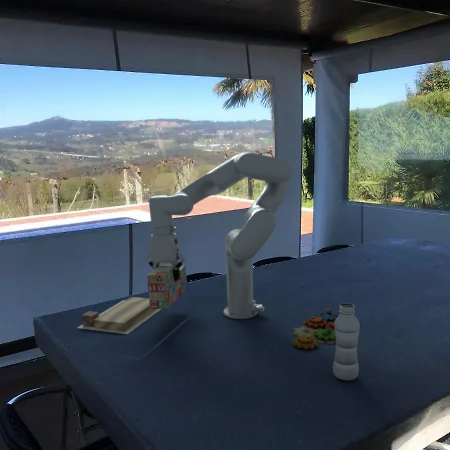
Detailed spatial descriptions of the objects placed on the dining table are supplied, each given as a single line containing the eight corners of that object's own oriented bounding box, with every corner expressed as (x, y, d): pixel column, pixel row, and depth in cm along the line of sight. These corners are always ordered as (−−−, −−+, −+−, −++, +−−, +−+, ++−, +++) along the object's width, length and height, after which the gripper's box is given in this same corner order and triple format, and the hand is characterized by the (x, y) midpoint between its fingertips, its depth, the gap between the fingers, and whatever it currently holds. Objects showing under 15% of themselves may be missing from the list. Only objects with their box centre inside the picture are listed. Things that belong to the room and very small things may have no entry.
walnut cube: (99, 322, 161) (98, 312, 161) (92, 327, 158) (91, 316, 157) (89, 321, 163) (89, 311, 162) (82, 325, 159) (82, 315, 158)
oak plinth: (158, 306, 176) (158, 299, 176) (124, 331, 153) (123, 323, 153) (131, 304, 180) (131, 296, 180) (94, 327, 157) (93, 319, 156)
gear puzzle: (319, 357, 133) (320, 344, 133) (273, 344, 143) (273, 332, 142) (360, 324, 157) (361, 312, 157) (318, 314, 167) (318, 304, 167)
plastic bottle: (329, 372, 123) (330, 302, 120) (353, 370, 124) (355, 300, 120) (337, 384, 117) (338, 310, 114) (362, 382, 117) (364, 309, 114)
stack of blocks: (172, 288, 175) (169, 257, 173) (187, 289, 174) (185, 257, 172) (149, 308, 155) (146, 274, 153) (167, 309, 153) (163, 274, 151)
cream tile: (167, 306, 179) (167, 304, 179) (127, 336, 151) (127, 334, 151) (123, 301, 186) (123, 300, 185) (77, 329, 158) (76, 327, 158)
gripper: (189, 228, 160) (193, 277, 163) (146, 228, 166) (151, 275, 169) (180, 232, 153) (185, 283, 156) (135, 232, 159) (141, 282, 162)
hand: (167, 279), depth 163 cm, fingers closed on stack of blocks, 6 cm apart
